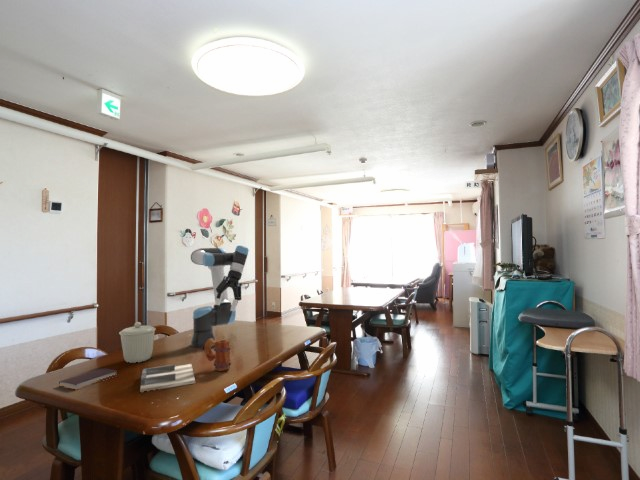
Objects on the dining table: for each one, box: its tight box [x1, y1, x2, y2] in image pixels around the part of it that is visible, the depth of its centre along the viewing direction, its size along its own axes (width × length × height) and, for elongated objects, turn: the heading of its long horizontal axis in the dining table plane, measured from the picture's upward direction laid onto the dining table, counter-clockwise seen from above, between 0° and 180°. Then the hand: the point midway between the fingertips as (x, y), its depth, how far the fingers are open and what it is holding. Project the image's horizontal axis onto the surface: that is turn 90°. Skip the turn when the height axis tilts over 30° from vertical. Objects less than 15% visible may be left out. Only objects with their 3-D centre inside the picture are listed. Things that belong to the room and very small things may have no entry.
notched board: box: [139, 363, 196, 393], centre depth 164 cm, size 26×22×4 cm
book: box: [58, 367, 118, 387], centre depth 163 cm, size 12×19×3 cm, turn 154°
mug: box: [203, 338, 232, 372], centre depth 174 cm, size 15×8×15 cm, turn 71°
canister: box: [118, 321, 156, 364], centre depth 193 cm, size 18×18×21 cm
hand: (225, 308), depth 193 cm, fingers open, 13 cm apart
